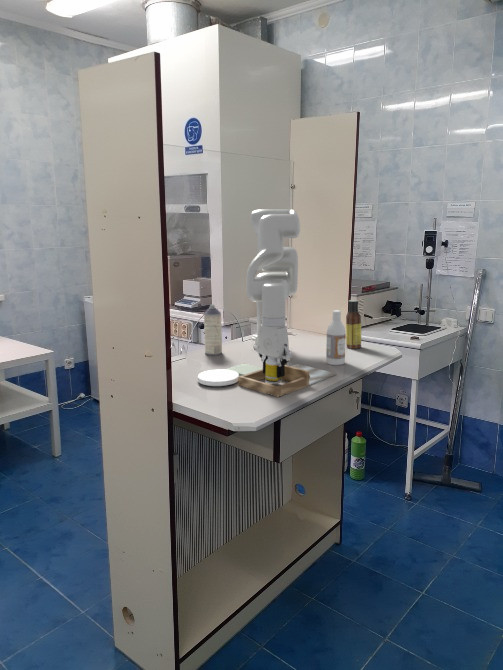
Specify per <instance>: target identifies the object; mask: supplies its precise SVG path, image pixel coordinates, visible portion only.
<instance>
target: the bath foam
mask: <svg viewBox="0 0 503 670" xmlns="http://www.w3.org/2000/svg"><path fill="white" fill-rule="evenodd" d="M341 316H342V311H341V310H338V309H335V310H332V320H331V322H330V324H329V325H328V327H327V330H326V349H325V350H326V351H325V353H326V354H325V362H326V364H328V365H330V366H342V365H344V364H345V361H346V327H345V325H344V324H343V322H342V321H341V319H342V317H341Z"/></svg>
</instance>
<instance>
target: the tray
mask: <svg viewBox="0 0 503 670" xmlns="http://www.w3.org/2000/svg"><path fill="white" fill-rule="evenodd" d="M225 369H226V370H232V371H235V372H237V373H238V374H239V376H242V375H245V374H249V373H252V372H255V371H258V370H261V369H263V367H260V366H256V365H252V364H249V363H241V364H237V365H233V366H230V367H228V368H225Z"/></svg>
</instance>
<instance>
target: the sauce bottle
mask: <svg viewBox="0 0 503 670" xmlns="http://www.w3.org/2000/svg"><path fill="white" fill-rule="evenodd" d="M347 301H348V302H347V303H348V312H347V314H346V316H345V332H346V340H345V346H346V347H347V349H351V350H352V349H353V350H354V349H356V350H357V349H360V348H361V347H362V316H361V314H360V311H359V300H357V299H349V300H347Z"/></svg>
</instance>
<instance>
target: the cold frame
mask: <svg viewBox="0 0 503 670" xmlns="http://www.w3.org/2000/svg"><path fill="white" fill-rule="evenodd" d="M265 375H266V374H263V369H261V370H258V371H255V372H252V373H249V374H245V375H242V376H239V380H238V386H241V387H243V388H246V389H250V390H253V391H256V392H260V393H262V392H263V394H266V393H268V394H267V395H269V394H272V395H275V396H274V397H276V396H277V397H276V398H280V397H279V396H281V397H282V395H283V396H285V395H284V394H286V395H288V394H290V392H291V393H293V392H295V391H298V390H301V389H304V388H307V387H308V386H310V385H311V386H312V385H313V384H317V383H319V382H321V381H324V380H326V379H329V378H332V377H334V375H335V376H337V373H336V372H332V371H328V370H324V369H321V368H315V367H312V366H308V365H304V364H300V363H297V364H292V365H287V364H286V365H285V375H284V376H283V377H282V381H286V382H287V383H284V384H280V385H276V384H270V383H267V382H263V381H261V380H263V379H265ZM331 376H332V377H331ZM287 393H288V394H287ZM272 395H271V396H272Z"/></svg>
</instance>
